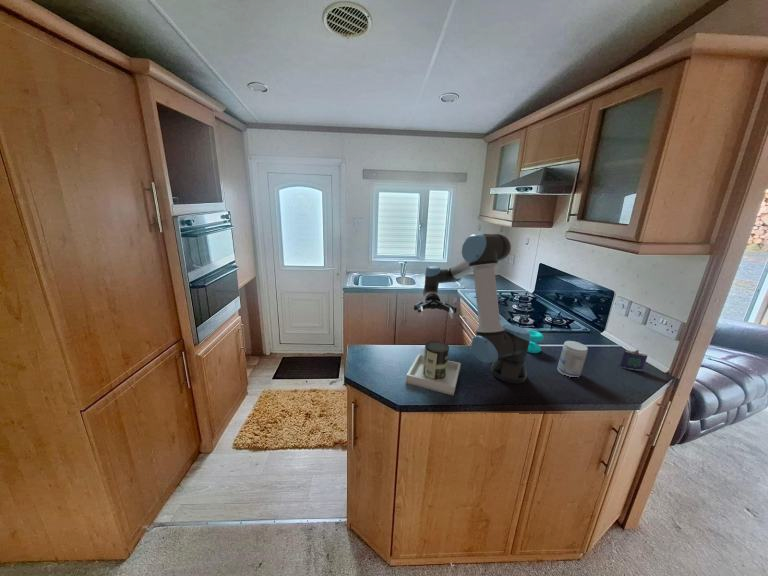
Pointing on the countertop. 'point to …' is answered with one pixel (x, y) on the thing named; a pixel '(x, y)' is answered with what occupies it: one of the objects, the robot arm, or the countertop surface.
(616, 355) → the countertop surface
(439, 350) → the coffee can
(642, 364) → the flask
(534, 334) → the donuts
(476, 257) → the robot arm
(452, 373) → the box
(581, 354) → the supplement tub
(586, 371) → the countertop surface
